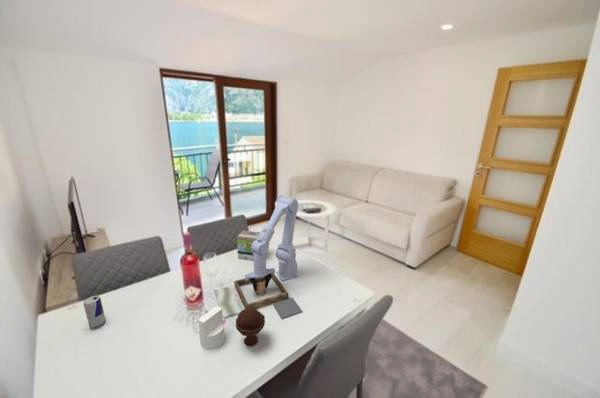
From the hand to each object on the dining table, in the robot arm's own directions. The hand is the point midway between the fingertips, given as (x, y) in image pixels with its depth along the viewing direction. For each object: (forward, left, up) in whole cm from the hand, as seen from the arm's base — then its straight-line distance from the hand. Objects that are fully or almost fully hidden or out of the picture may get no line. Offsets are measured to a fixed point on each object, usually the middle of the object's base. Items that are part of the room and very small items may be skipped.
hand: (260, 288), depth 128 cm
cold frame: (+5, 0, -2) cm, 5 cm away
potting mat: (-7, +16, -2) cm, 18 cm away
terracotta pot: (0, 0, -2) cm, 2 cm away
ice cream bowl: (+13, +26, -2) cm, 29 cm away
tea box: (-7, -35, -2) cm, 36 cm away
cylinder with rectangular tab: (+26, +19, -2) cm, 32 cm away
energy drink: (+66, -9, -2) cm, 67 cm away
